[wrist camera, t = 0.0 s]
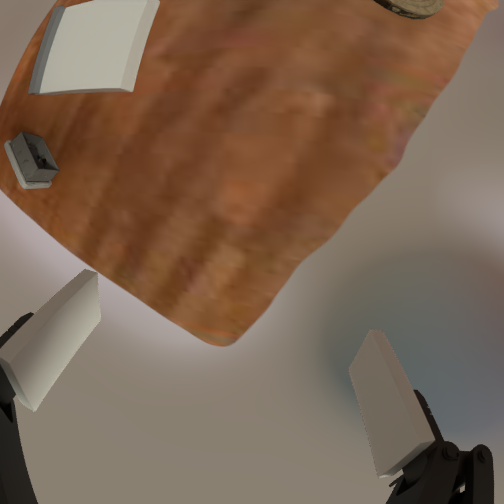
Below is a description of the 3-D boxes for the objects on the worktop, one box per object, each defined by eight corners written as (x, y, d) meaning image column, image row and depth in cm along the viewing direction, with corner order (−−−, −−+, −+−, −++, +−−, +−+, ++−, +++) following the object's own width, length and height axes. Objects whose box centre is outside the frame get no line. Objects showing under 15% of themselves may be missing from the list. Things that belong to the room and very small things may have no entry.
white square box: (71, 15, 26) (54, 7, 21) (160, 2, 27) (147, -13, 22) (48, 95, 32) (28, 93, 27) (132, 92, 32) (114, 86, 27)
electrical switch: (30, 148, 35) (-3, 150, 26) (47, 129, 35) (14, 127, 26) (50, 187, 38) (17, 196, 29) (68, 169, 37) (35, 174, 29)
